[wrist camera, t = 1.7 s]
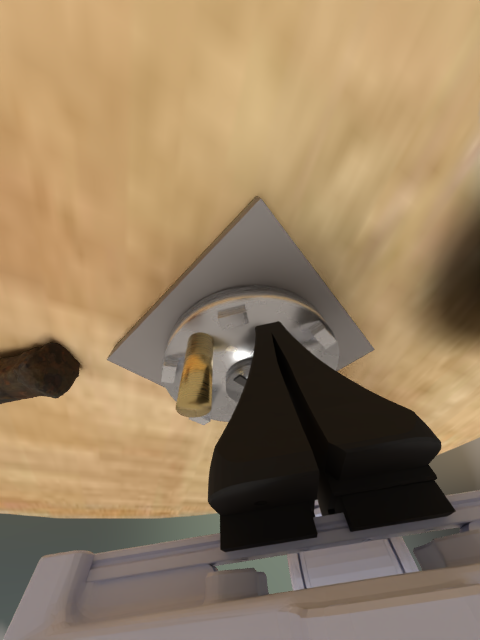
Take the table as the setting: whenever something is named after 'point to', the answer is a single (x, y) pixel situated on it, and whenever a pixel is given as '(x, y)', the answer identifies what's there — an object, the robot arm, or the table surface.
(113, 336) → the table surface
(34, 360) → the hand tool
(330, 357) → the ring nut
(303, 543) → the robot arm
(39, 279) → the table surface
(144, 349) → the base plate
